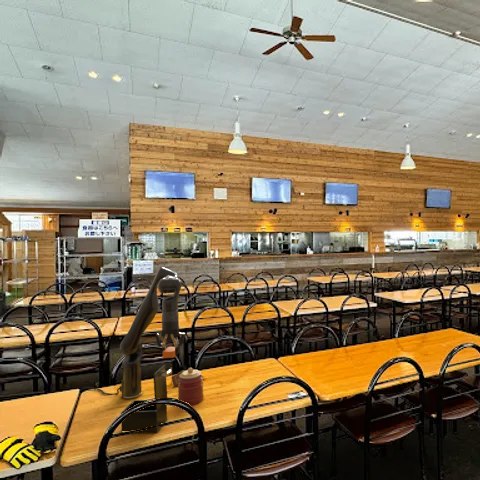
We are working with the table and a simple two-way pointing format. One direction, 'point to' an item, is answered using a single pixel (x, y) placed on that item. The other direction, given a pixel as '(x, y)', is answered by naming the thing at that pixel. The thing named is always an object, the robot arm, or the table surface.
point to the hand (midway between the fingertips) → (170, 354)
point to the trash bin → (144, 418)
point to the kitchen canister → (190, 386)
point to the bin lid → (160, 384)
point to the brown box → (176, 379)
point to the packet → (169, 352)
